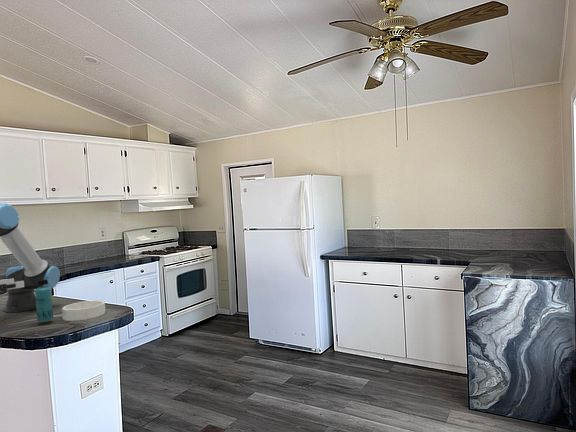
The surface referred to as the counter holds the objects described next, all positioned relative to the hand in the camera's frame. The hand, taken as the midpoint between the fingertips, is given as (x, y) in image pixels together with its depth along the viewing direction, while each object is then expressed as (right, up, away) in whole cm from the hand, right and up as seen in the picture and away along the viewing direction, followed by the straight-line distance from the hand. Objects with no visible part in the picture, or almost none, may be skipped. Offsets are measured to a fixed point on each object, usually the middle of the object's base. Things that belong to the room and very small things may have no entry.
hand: (18, 282), depth 181 cm
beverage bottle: (+7, -20, +8) cm, 23 cm away
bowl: (+20, -19, +18) cm, 33 cm away
